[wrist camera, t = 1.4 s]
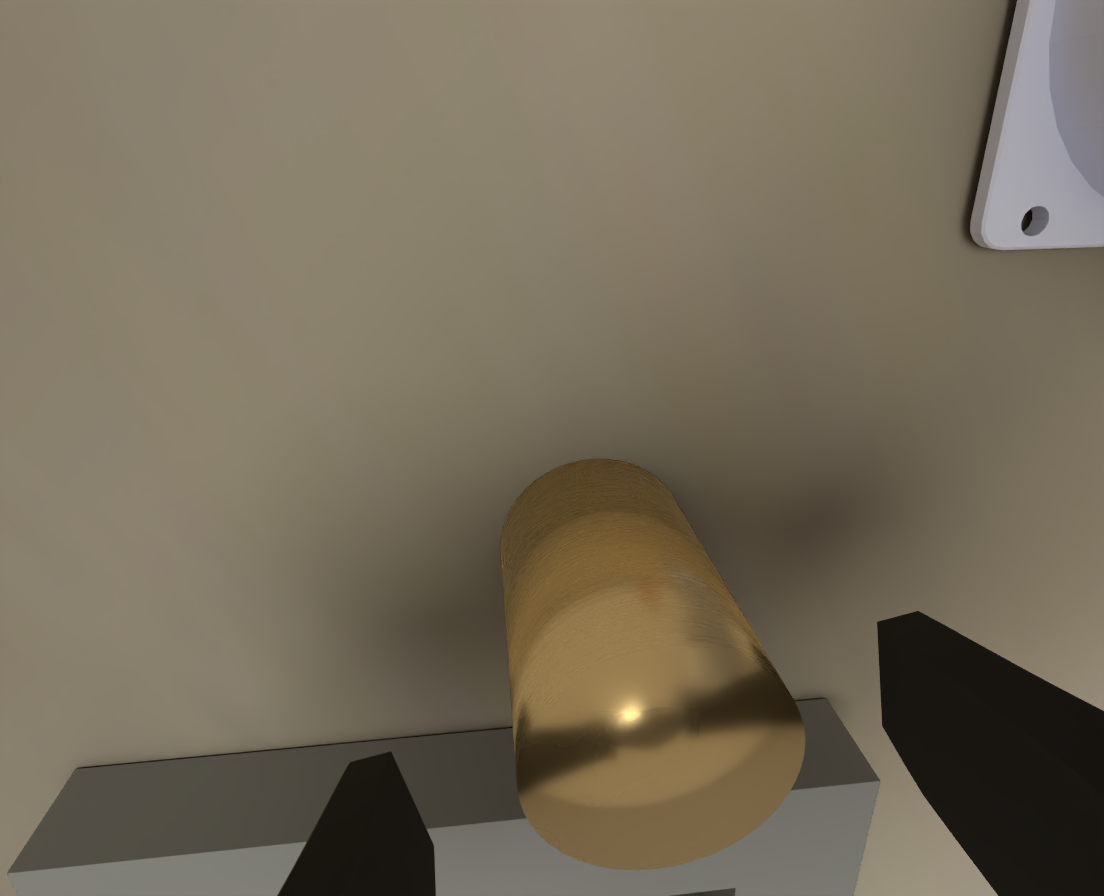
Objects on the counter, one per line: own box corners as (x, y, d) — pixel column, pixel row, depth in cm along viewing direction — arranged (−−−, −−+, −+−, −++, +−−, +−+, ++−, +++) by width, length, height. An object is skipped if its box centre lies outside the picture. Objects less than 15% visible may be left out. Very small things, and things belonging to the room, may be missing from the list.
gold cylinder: (688, 453, 14) (824, 638, 9) (677, 611, 16) (787, 854, 10) (495, 464, 14) (510, 665, 8) (504, 626, 15) (522, 884, 10)
